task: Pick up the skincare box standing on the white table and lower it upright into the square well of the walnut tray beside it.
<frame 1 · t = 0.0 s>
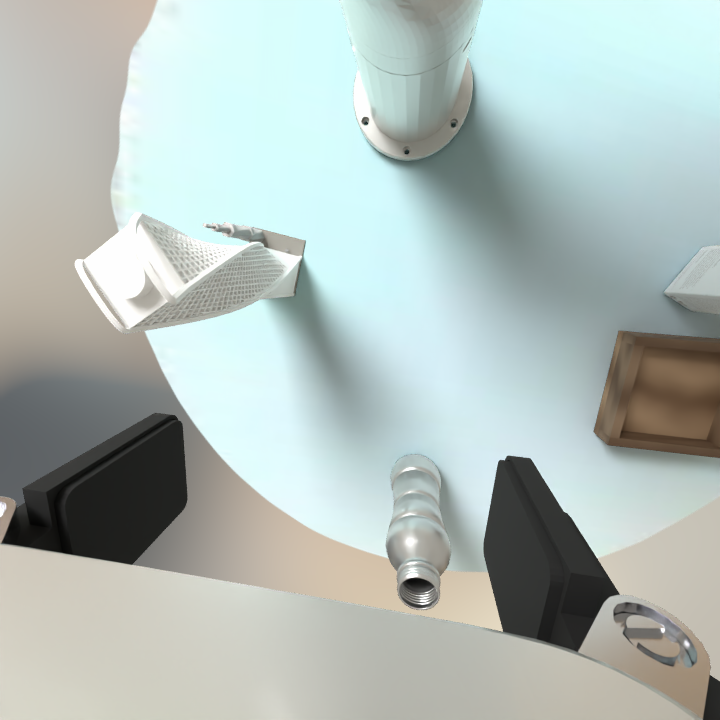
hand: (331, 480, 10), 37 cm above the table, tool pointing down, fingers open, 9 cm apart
skyscraper: (279, 267, 47), on the table
skincare box: (694, 277, 40), on the table
plastic bottle: (415, 468, 51), on the table
walnut tray: (663, 388, 44), on the table
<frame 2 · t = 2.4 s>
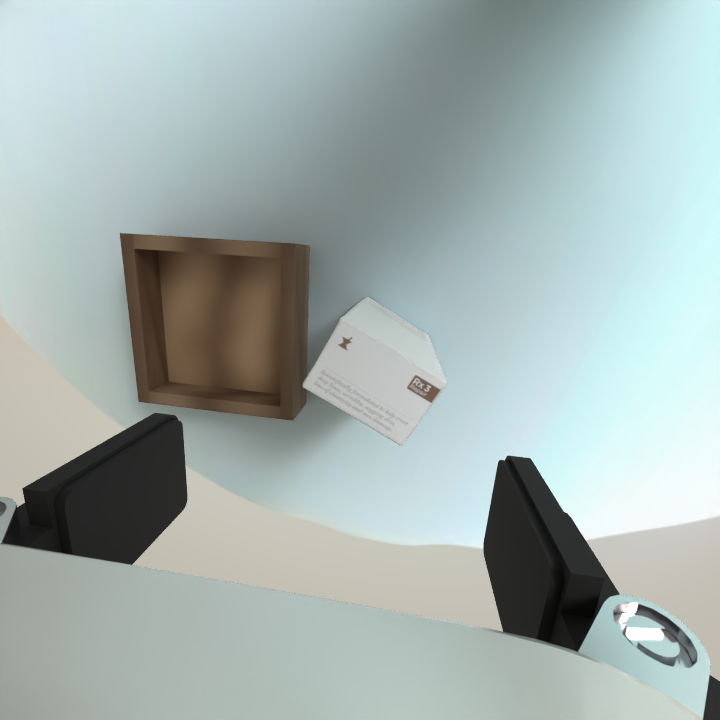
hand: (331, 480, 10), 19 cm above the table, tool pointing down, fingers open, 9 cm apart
skincare box: (387, 335, 29), on the table
walnut tray: (232, 322, 30), on the table
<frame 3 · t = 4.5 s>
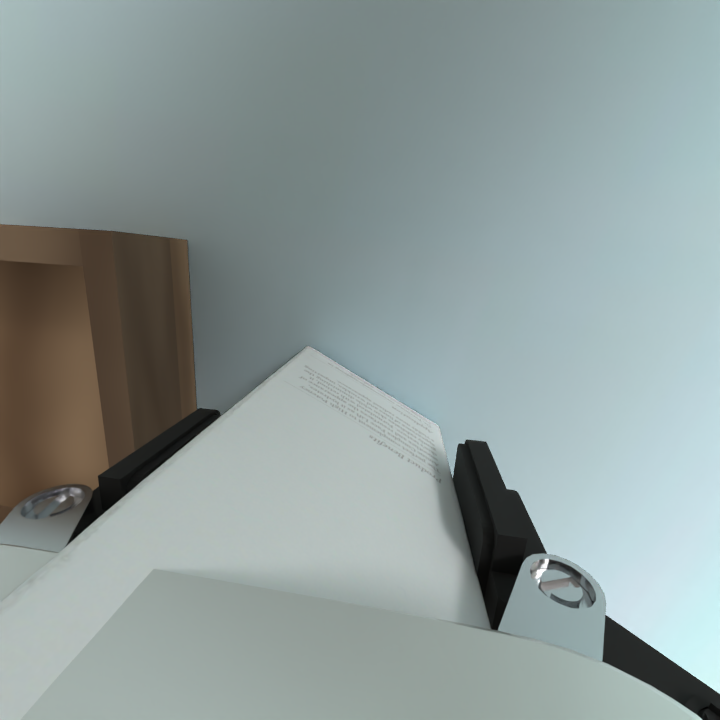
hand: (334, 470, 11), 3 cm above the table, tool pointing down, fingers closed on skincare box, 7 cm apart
skincare box: (354, 421, 14), on the table, touching gripper
walnut tray: (55, 389, 16), on the table
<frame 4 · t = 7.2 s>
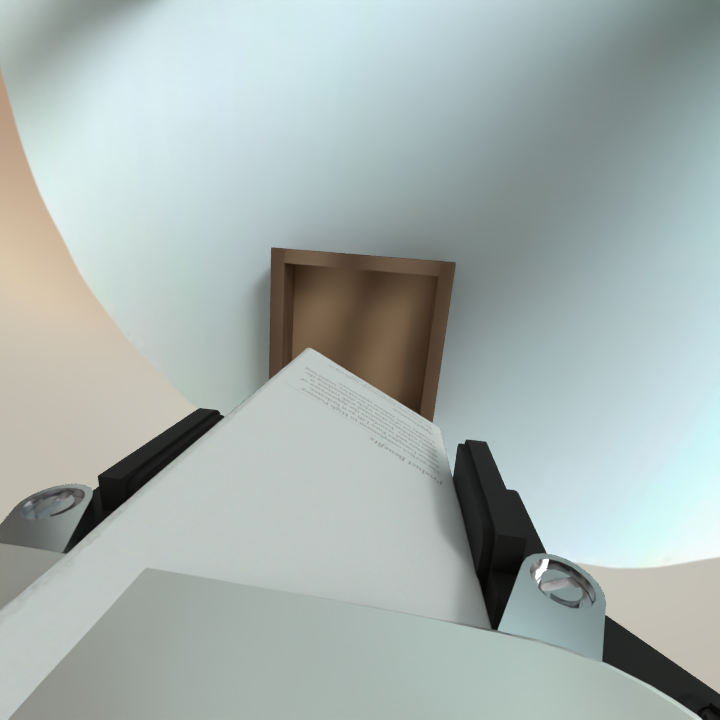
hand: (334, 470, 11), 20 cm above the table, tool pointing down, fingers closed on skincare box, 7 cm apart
skincare box: (354, 423, 14), point 16 cm above the table, touching gripper
walnut tray: (360, 336, 30), on the table
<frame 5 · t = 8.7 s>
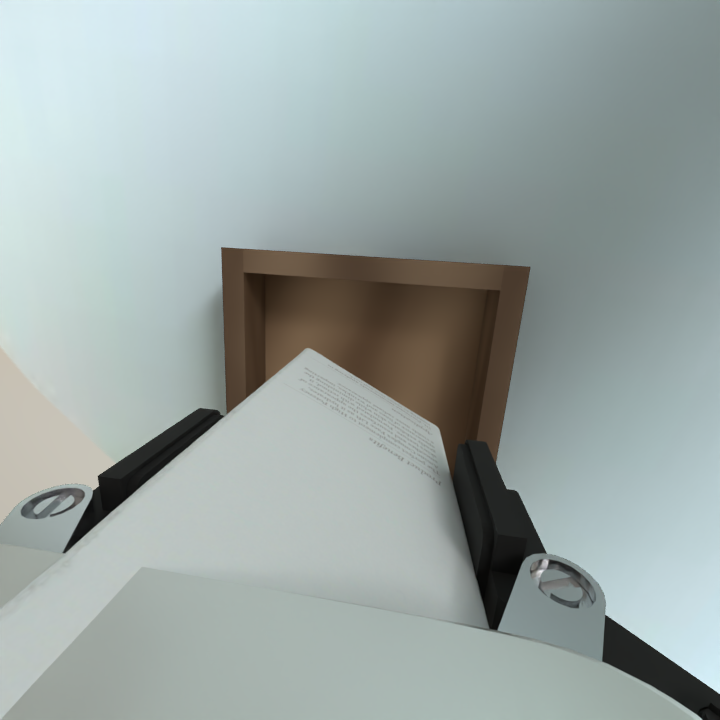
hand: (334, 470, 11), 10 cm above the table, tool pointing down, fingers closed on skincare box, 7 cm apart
skincare box: (354, 423, 14), point 6 cm above the table, touching gripper
walnut tray: (367, 379, 20), on the table
when the fingers open (6 cm above the table, at t = 10.1 s): skincare box drops 1 cm, resting on walnut tray.
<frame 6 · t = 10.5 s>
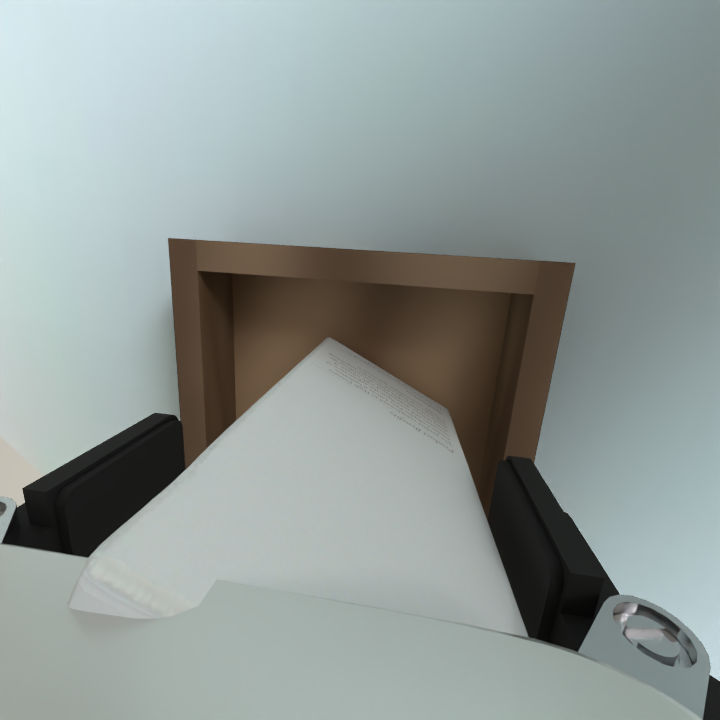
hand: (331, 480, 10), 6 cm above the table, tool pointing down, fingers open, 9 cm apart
skincare box: (369, 407, 16), point 1 cm above the table, touching walnut tray
walnut tray: (360, 402, 17), on the table
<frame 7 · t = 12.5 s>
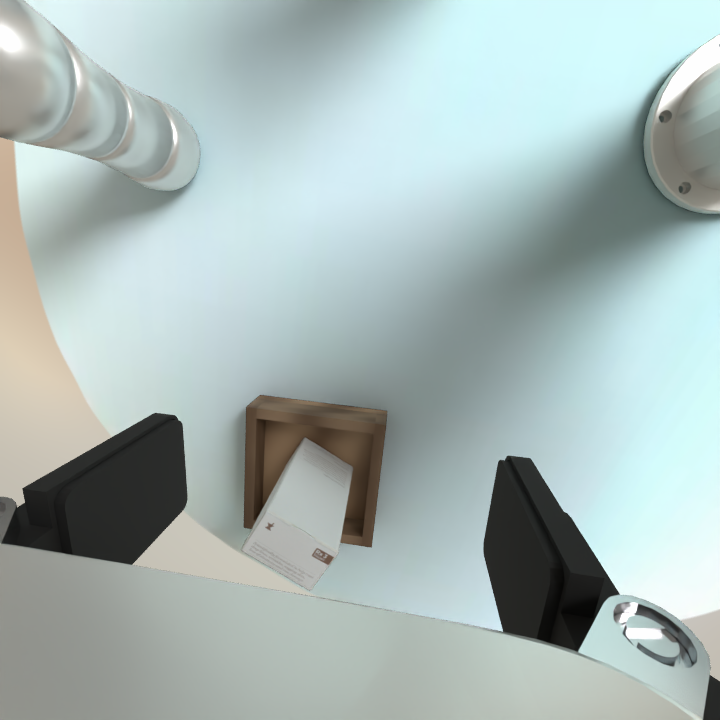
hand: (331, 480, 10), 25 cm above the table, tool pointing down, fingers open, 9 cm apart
skincare box: (321, 464, 37), point 1 cm above the table, touching walnut tray
plastic bottle: (176, 157, 33), on the table
walnut tray: (318, 461, 38), on the table
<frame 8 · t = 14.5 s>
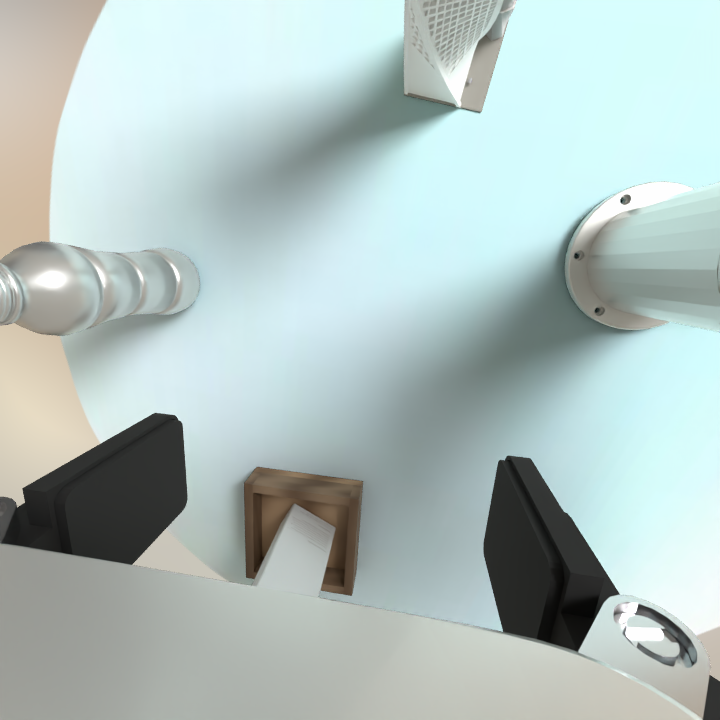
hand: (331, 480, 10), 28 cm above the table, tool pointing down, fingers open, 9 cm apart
skyscraper: (445, 69, 32), on the table
skincare box: (309, 524, 44), point 1 cm above the table, touching walnut tray
plastic bottle: (181, 281, 40), on the table
walnut tray: (307, 520, 45), on the table
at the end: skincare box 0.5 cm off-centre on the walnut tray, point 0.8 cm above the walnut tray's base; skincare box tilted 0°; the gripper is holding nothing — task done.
